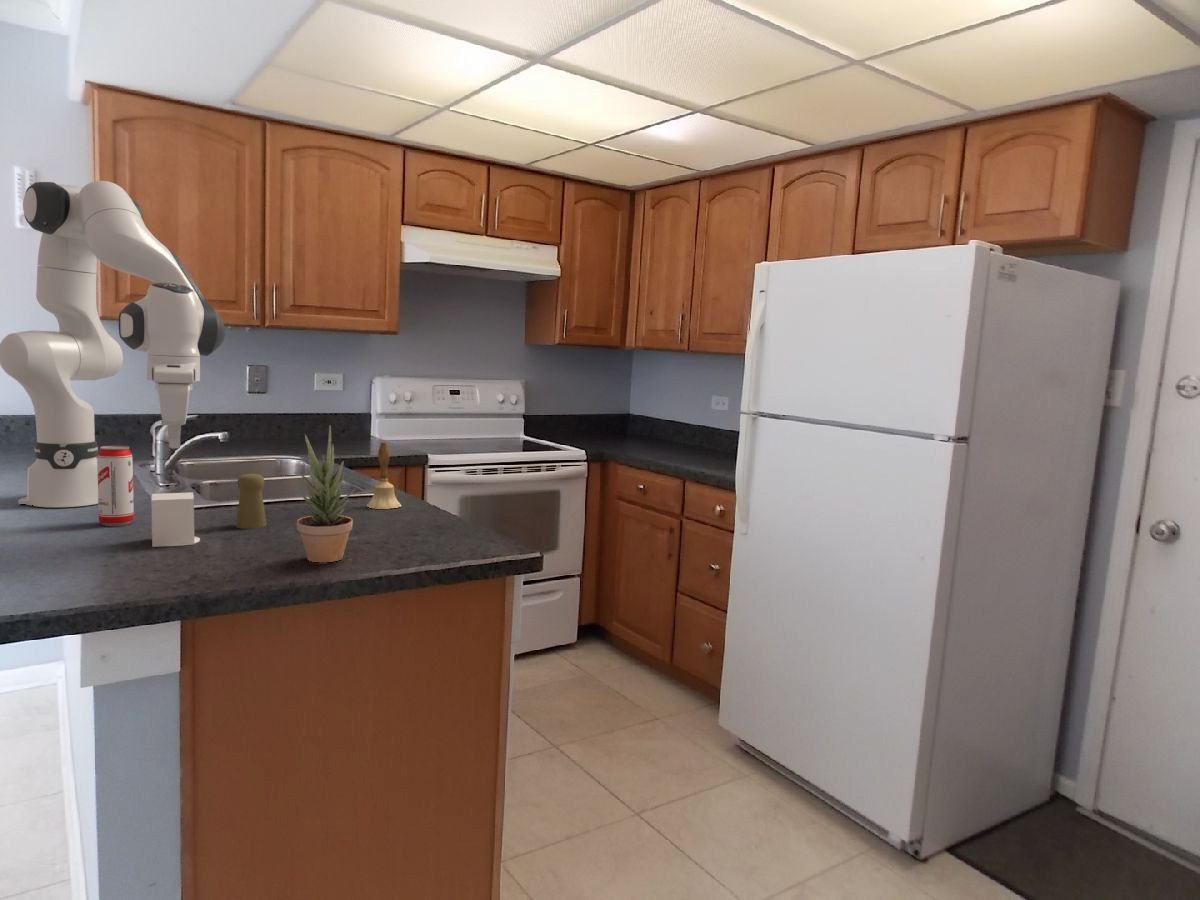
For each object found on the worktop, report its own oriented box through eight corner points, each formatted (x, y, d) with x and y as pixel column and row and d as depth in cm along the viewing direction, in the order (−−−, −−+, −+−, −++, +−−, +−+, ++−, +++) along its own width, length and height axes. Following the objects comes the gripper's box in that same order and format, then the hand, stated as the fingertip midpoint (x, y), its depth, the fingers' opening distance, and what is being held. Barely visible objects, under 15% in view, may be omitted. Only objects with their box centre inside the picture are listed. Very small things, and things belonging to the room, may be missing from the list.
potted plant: (298, 567, 140) (298, 426, 137) (295, 554, 149) (295, 421, 146) (358, 564, 144) (359, 426, 141) (351, 551, 153) (352, 421, 150)
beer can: (129, 519, 172) (127, 444, 170) (137, 524, 167) (136, 448, 165) (95, 522, 167) (93, 446, 165) (103, 528, 163) (101, 449, 161)
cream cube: (153, 538, 156) (152, 493, 155) (193, 536, 159) (193, 492, 158) (152, 547, 150) (151, 500, 149) (194, 544, 153) (193, 498, 152)
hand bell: (382, 511, 192) (383, 444, 190) (359, 506, 196) (359, 441, 195) (408, 507, 199) (409, 442, 197) (385, 502, 203) (386, 439, 202)
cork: (257, 521, 175) (257, 471, 174) (272, 526, 171) (272, 474, 170) (230, 525, 170) (229, 473, 169) (244, 530, 167) (244, 477, 165)
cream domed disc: (153, 538, 156) (153, 537, 156) (199, 535, 160) (199, 534, 160) (152, 547, 149) (152, 546, 149) (200, 544, 153) (200, 543, 153)
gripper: (155, 368, 159) (156, 438, 160) (153, 373, 141) (154, 451, 142) (191, 369, 162) (192, 438, 163) (193, 374, 144) (194, 451, 145)
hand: (174, 444), depth 153 cm, fingers open, 8 cm apart
